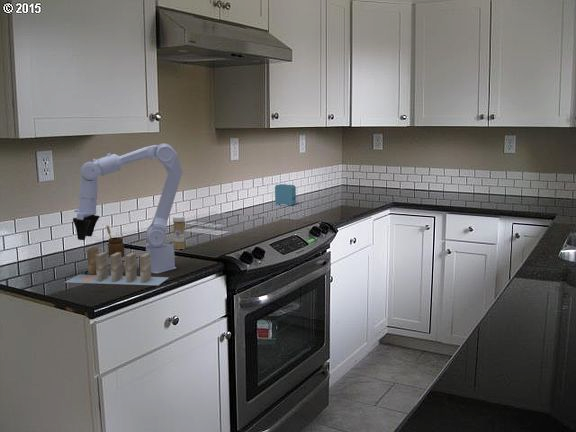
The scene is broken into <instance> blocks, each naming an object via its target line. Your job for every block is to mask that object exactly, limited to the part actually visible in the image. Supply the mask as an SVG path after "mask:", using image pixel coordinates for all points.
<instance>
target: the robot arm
mask: <svg viewBox="0 0 576 432" xmlns="http://www.w3.org/2000/svg"><path fill="white" fill-rule="evenodd" d="M155 157H156V159H157V160H158V162H160V164H162V165H163V166H164V167H163V168H164V169H165V170H166V172H167V176H166V179H165V181H164V184H163V187H162V190H161V194H160V197H159V202H158V205H157V206H156V211H155V213H154V216H153V218H152V222H151V224H150V225H149V226H148V227H147V229H146V231H145V234H146V240H147V243H145V253H150V260H151V274H160V273H163V272H168V271H171V270H174V269H177V267H176V266H175V249H174V247H173V246H172V244H170V243H168V242H166V239H167V236H166V230H167V226H168V220H169V218H170V214H171V211H172V207H173V205H174V201H175V198H176V195H177V192H178V189H179V186H180V182H181V179H182V175H183V169H182V165H181V162H180V158H179V154H178V153H177V151H176V150H175V149H174V148H173V146H172V145H170V144H168V143H167V142H166V143H163V142H162V143H159V144H158V145H157V144H153V145H148V146H145V147H142V148H139V149H137V150H134V151H130V152H128V153H124V154H122V155H118V154H116V153H113V154H111V152H109V153H107V154H106V156H103V157H100V158H98V159H97V158H93V159H92V161H86V162H85V163H84V164H83V165H82V166H81V168H80V175H81V177H80V183H79V193H78V194H79V195H78V208H77V209H74V213H76V217H73V218H72V221H73V224H74V227H75V229H76V230H75V231H76V236H77V240H79V241H85V240H86V237H89V238H91V237H92V236H93V234H94V230H95V228H96V224H97V222H98V220H99V219H100V215H97V200H98V189H99V185H98V179H99V178H98V177H99V176H102V177H104V176H106V175H110V174H112V173H114V172H117V171H121V170H122V167H123V166H124V165H128V164H131V163H133V162H137V161H142V160H143V159H149V160H153V161H155V160H156V159H155Z"/></svg>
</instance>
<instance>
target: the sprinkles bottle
mask: <svg viewBox="0 0 576 432" xmlns="http://www.w3.org/2000/svg"><path fill="white" fill-rule="evenodd" d="M172 222H173V245H174V247H173V249H174V250H175V249H178V250H177V251H180V250H179V249H183V250H185V249H186V237H185V235H186V233H185V216H184V215H174V216H173V217H172Z"/></svg>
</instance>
